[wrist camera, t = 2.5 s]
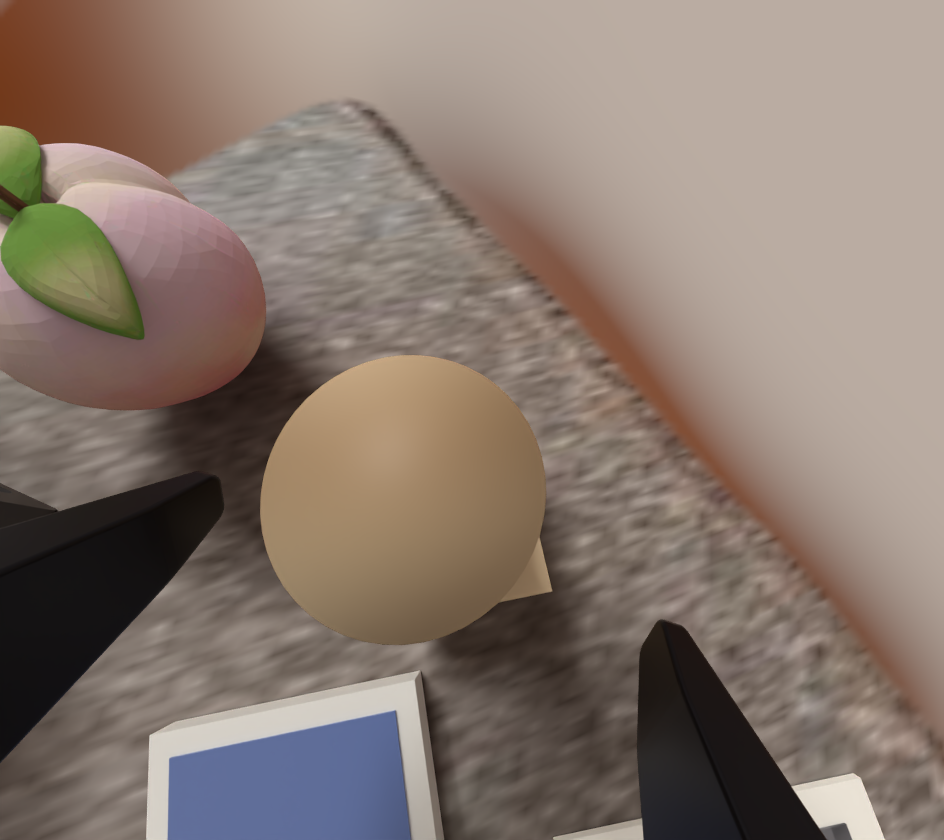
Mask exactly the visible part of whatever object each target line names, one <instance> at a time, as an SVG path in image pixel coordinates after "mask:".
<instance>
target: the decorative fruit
mask: <svg viewBox="0 0 944 840" xmlns="http://www.w3.org/2000/svg"><path fill="white" fill-rule="evenodd" d="M265 321H266V302H265V293H264V288H263V284H262V280H261V277H260V274H259V272H258V269H257V267H256V264H255V262H254V260H253V258H252V256H251V255H250V253H249V251H248V250H247V248H246V246H245V245H244V244H243V242H242V241H241V240H240V238H239V237H238V236H237V235H236V234H235V233H234V232H233V231H232V230H231V229H230V228H229V227H227V226H226V225H225V224H224V223H223V222H222V221H220V220H218V219H217V218H215V217H214V216H212V215H211V214H209V213H208V212H206V211H204V210H202V209H200V208H198V207H196V206H194V205H192V204H191V203H190V202H189V201H188V200H187V199H186V197H185V196H184V195H183V194H182V193H181V192H180V191H179V190H178V189H177V188H176V187H175V186H174V185H173V184H172V183H171V182H170V181H168V180H167V179H165V178H164V177H163V176H161V175H160V174H158V173H157V172H155V171H154V170H152V169H150V168H149V167H147V166H145V165H144V164H142V163H139V162H137V161H135V160H133V159H131V158H129V157H126V156H124V155H121V154H118V153H115V152H112V151H109V150H106V149H102V148H99V147H94V146H89V145H83V144H69V143H58V144H47V145H41V146H39V145H38V142H37V140H36V139H35V138H34V136H33V135H31V134H30V133H28V132H27V131H25V130H22V129H19V128H14V127H10V126H0V369H1V370H2V371H3V372H5V373H6V374H8V375H9V376H11V377H12V378H14V379H15V380H17V381H18V382H20V383H22V384H24V385H26V386H28V387H30V388H32V389H34V390H36V391H38V392H41V393H43V394H46V395H48V396H51V397H53V398H56V399H59V400H62V401H65V402H68V403H72V404H76V405H81V406H85V407H92V408H99V409H108V410H145V409H155V408H161V407H165V406H170V405H174V404H178V403H182V402H185V401H189V400H192V399H196V398H199V397H201V396H204V395H206V394H209V393H211V392H213V391H215V390H217V389H219V388H220V387H222V386H224V385H225V384H227V383H228V382H230V381H231V380H233V379H234V378H235V377H236V376H238V375H239V374H240V373H241V372H242V371H243V370H244V369H245V368H246V366H247V365H248V364H249V363H250V361H251V360H252V358H253V357H254V355H255V354H256V352H257V350H258V348H259V345H260V342H261V340H262V337H263V333H264V328H265Z"/></svg>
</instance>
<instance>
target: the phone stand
mask: <svg viewBox="0 0 944 840" xmlns="http://www.w3.org/2000/svg"><path fill="white" fill-rule="evenodd" d="M55 510H56V509H55V508H53V507H51V506H49V505H47V504H44V503H42V502H40V501H38V500H36V499H33V498H31V497H29V496H27V495H25V494H22V493H20V492H18V491H16V490H14V489H12V488H9V487H7V486H5V485H3V484H1V483H0V528H4V527H7V526H11V525H14V524H17V523H21V522H24V521H28V520H31V519H35V518H38V517H41V516H45V515H48V514H52V513H54V512H55Z"/></svg>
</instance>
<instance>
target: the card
mask: <svg viewBox="0 0 944 840" xmlns="http://www.w3.org/2000/svg"><path fill="white" fill-rule="evenodd" d="M791 787H792V788H793V790H794V791H795V793H796V794H797V796H798V797H799V799H800V800H801V802H802V803H803V805H804V806H805V808H806V809H807V811H808V812H809V813H810V815H811V816H812V818H813V819H814V821H815V822H816V824H817V825H818V827H819V828H820V830H821V831H822V833H823V834H824V836H825V837H826V839H827V840H885V839H884V836H883V834H882V831H881V829H880V826H879V823H878V821H877V818H876V816H875V813H874V811H873V808H872V806H871V803H870V801H869V798H868V796H867V793H866V791H865V788H864V786H863V783H862V780H861V778H860V777H858V776H857V775H855V774H853V773H852V774H847V775H842V776H838V777H833V778H828V779H824V780H819V781H814V782H810V783H805V784H800V785H796V786H791ZM553 840H643V826H642V818H641V819H636V820H631V821H627V822H622V823H617V824H613V825H608V826H603V827H598V828H594V829H589V830H584V831H580V832H575V833H570V834H566V835H561V836H556V837H553Z"/></svg>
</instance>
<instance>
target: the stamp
mask: <svg viewBox="0 0 944 840" xmlns="http://www.w3.org/2000/svg"><path fill="white" fill-rule="evenodd" d="M545 502H546V482H545V471H544V466H543V461H542V456H541V453H540V450H539V447H538V444H537V440H536V438H535V436H534V434H533V432H532V430H531V428H530V425H529V423H528V422H527V420H526V419H525V417H524V416H523V414H522V413H521V411H520V409H519V408H518V407H517V406H516V405H515V403H514V402H513V401H512V400H511V399H510V398H509V396H508V395H507V394H506V393H505V392H503V391H502V390H501V389H500V388H499V387H498V386H497V385H496V384H494V383H493V382H492V381H490V380H489V379H487V378H486V377H484V376H483V375H481V374H480V373H478V372H476V371H474V370H472V369H470V368H468V367H466V366H463V365H461V364H458V363H455V362H452V361H449V360H445V359H441V358H436V357H430V356H420V355H402V356H393V357H386V358H381V359H377V360H373V361H369V362H366V363H363V364H361V365H358V366H356V367H353V368H350V369H349V370H347V371H345V372H343V373H341V374H339V375H337V376H335V377H334V378H332V379H331V380H329V381H328V382H327V383H325V384H324V385H322V386H321V387H319V388H318V389H317V390H316V391H315V392H314V393H313V394H311V395H310V396H309V397H308V398H307V399H306V400H305V401H304V402H303V403H302V404H301V405H300V407H299V408H298V409H297V410H296V411H295V412H294V414H293V415H292V416H291V418H290V419H289V420H288V422H287V423H286V425H285V426H284V428H283V430H282V431H281V433H280V435H279V437H278V438H277V440H276V442H275V444H274V447H273V449H272V452H271V454H270V457H269V459H268V462H267V466H266V470H265V473H264V477H263V483H262V490H261V503H260V517H261V526H262V534H263V538H264V542H265V546H266V550H267V553H268V556H269V558H270V561H271V563H272V566H273V568H274V571H275V572H276V574H277V576H278V578H279V579H280V581H281V583H282V585H283V586H284V588H285V589H286V590H287V591H288V593H289V594H290V595H291V596H292V598H293V599H294V600H295V602H296V603H298V604H299V605H300V606H301V607H302V608H303V609H304V610H305V611H306V612H307V613H308V614H309V615H310V616H312V617H313V618H315V619H316V620H317V621H319V622H320V623H322V624H323V625H325V626H326V627H328V628H330V629H332V630H334V631H336V632H338V633H340V634H342V635H345V636H348V637H351V638H354V639H357V640H360V641H364V642H370V643H376V644H382V645H406V644H414V643H421V642H426V641H430V640H433V639H437V638H441V637H444V636H446V635H449V634H451V633H453V632H455V631H458V630H460V629H462V628H464V627H466V626H467V625H469V624H471V623H472V622H474V621H475V620H477V619H479V618H480V617H482V616H483V615H484V614H485V613H487V612H488V611H489V610H490V609H491V608H493V607H494V606H495V605H496V604H497V603H499V602H504V601H509V600H513V599H518V598H523V597H528V596H533V595H537V594H542V593H547V592H552V588H551V584H550V579H549V575H548V571H547V567H546V563H545V558H544V554H543V550H542V546H541V541H540V537H539V536H540V532H541V528H542V523H543V519H544V514H545Z"/></svg>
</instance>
